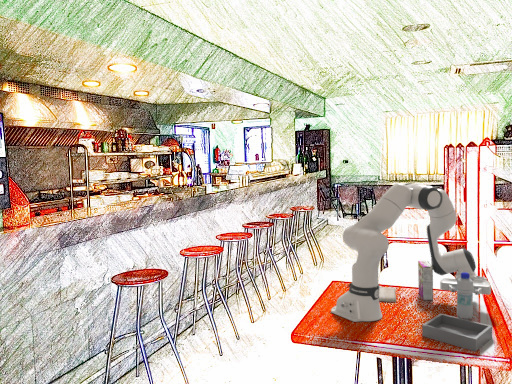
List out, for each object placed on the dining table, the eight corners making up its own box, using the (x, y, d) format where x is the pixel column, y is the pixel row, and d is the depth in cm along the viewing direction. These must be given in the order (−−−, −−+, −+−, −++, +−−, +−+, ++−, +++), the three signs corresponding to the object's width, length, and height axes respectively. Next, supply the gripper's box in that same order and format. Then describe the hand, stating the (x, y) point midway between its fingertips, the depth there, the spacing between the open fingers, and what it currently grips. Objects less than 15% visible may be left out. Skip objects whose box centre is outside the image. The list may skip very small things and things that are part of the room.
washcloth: (395, 291, 232) (395, 285, 232) (396, 303, 215) (396, 297, 215) (371, 290, 235) (371, 284, 235) (370, 302, 218) (370, 296, 218)
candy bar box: (417, 292, 228) (417, 260, 226) (428, 292, 227) (428, 260, 225) (422, 300, 217) (422, 266, 215) (433, 300, 216) (433, 266, 214)
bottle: (475, 322, 189) (475, 274, 187) (458, 321, 190) (458, 274, 188) (471, 316, 195) (471, 270, 193) (454, 315, 197) (454, 270, 195)
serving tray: (422, 336, 177) (422, 324, 177) (440, 323, 188) (440, 313, 188) (475, 351, 163) (476, 339, 162) (492, 337, 174) (492, 326, 173)
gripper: (440, 273, 211) (438, 281, 199) (490, 278, 202) (491, 287, 190) (440, 286, 212) (438, 296, 199) (490, 291, 203) (491, 301, 190)
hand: (464, 291), depth 194 cm, fingers open, 8 cm apart
